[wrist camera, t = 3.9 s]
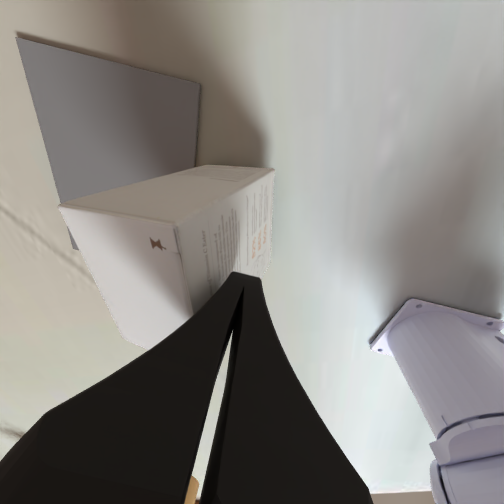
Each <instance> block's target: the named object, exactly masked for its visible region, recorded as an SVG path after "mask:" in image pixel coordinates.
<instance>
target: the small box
mask: <svg viewBox="0 0 504 504" xmlns="http://www.w3.org/2000/svg"><path fill="white" fill-rule="evenodd" d="M274 176H275V169H273V168H255V167H239V166H224V165H203V166H199V167H195V168H191V169H187V170H184V171H180V172H176V173H172V174H169V175H165V176H161V177H157V178H153V179H149V180H146V181H142V182H138V183H134V184H131V185H127V186H123V187H119V188H115V189H111V190H107V191H103V192H99V193H96V194H92V195H88V196H84V197H81V198H77V199H73V200H70V201H67V202H64V203H61V204H59V205H58V209H59V211H60V212H61V214H62V216H63V218H64V220H65V222H66V224H67V226H68V228H69V230H70V232H71V234H72V236H73V238H74V240H75V242H76V244H77V247H78V249H79V251H80V253H81V254H82V257H83V259H84V261H85V263H86V265H87V267H88V269H89V271H90V273H91V275H92V277H93V279H94V281H95V283H96V285H97V287H98V289H99V291H100V293H101V295H102V297H103V299H104V301H105V303H106V305H107V307H108V309H109V311H110V313H111V316H112V317H113V319H114V321H115V323H116V326H117V328H118V330H119V332H120V334H121V336H122V338H123V339H125V340H127V341H129V342H131V343H133V344H135V345H137V346H140V347H142V348H144V349H146V350H150V349H151V348H152V347H154V346H155V345H157V344H158V343H159V342H161V341H162V340H163V339H165V338H166V337H167V336H169V335H170V334H171V333H173V332H174V331H175V330H176V329H178V328H179V327H180V326H181V325H182V324H184V323H185V322H186V321H187V320H188V319H189V318H191V317H192V316H193V315H194V314H195V313H196V312H197V311H198V310H199V309H200V308H201V307H202V306H203V305H204V304H205V303H206V302H207V301H208V300H209V299H210V298H211V297H212V296H213V295H214V294H215V293H216V292H217V290H218V289H219V288H220V287H221V286H222V285H223V283H224V282H225V281H226V279H227V278H228V276H229V275H230V273H231V272H233V271H235V272H239V273H243V274H247V275H251V276H255V277H259V278H260V279H262V277H263V276H264V274H265V272H266V270H267V269H268V267H269V265H270V263H271V239H272V218H273V195H274Z"/></svg>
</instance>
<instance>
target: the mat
mask: <svg viewBox="0 0 504 504" xmlns="http://www.w3.org/2000/svg"><path fill="white" fill-rule="evenodd" d="M15 38H16V41H17V45H18V49H19V52H20V56H21V60H22V63H23V67H24V70H25V74H26V78H27V81H28V85H29V89H30V92H31V96H32V100H33V103H34V107H35V111H36V114H37V118H38V122H39V125H40V129H41V133H42V136H43V140H44V144H45V147H46V151H47V155H48V158H49V162H50V166H51V169H52V173H53V177H54V180H55V184H56V187H57V191H58V195H59V198H60V202H61V203H64V202H67V201H70V200H73V199H77V198H81V197H84V196H88V195H92V194H96V193H99V192H103V191H107V190H111V189H115V188H119V187H123V186H127V185H131V184H134V183H138V182H142V181H146V180H149V179H153V178H157V177H161V176H165V175H169V174H172V173H176V172H180V171H184V170H187V169H191V168H195V162H196V147H197V132H198V117H199V102H200V87H201V84H199V83H195V82H191V81H187V80H183V79H179V78H175V77H171V76H167V75H163V74H160V73H156V72H152V71H148V70H144V69H140V68H136V67H132V66H128V65H124V64H120V63H116V62H112V61H108V60H104V59H100V58H96V57H92V56H88V55H85V54H81V53H77V52H73V51H69V50H65V49H61V48H57V47H53V46H49V45H45V44H41V43H37V42H33V41H29V40H25V39H21V38H17V37H15ZM67 228H68V226H67ZM68 231H69V235H70V239H71V242H72V246H73V249H76V250H79V249H78V247H77V244H76V242H75V240H74V238H73V236H72V234H71V232H70V230H69V228H68Z"/></svg>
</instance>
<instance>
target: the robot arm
mask: <svg viewBox="0 0 504 504" xmlns="http://www.w3.org/2000/svg"><path fill="white" fill-rule="evenodd" d="M418 304H419V305H418ZM503 328H504V321H502V320H499V319H495V318H491V317H487V316H483V315H479V314H475V313H471V312H467V311H463V310H459V309H455V308H450V307H446V306H442V305H438V304H434V303H430V302H426V301H422V300H418V299H409V300H408V301H407V302H406V303H405V304H404V305H403V306H402V308H401V309H400V310H399V311H398V312H397V314H396V315H395V316H394V317H393V318H392V320H391V321H390V322H389V323H388V325H387V326H386V327H385V328H384V329H383V331H382V332H381V333H380V334H379V335H378V337H377V338H376V339H375V340H374V341H373V343H372V344H371V345H370V349H371V350H372V351H374V352H378V353H382V354H386V355H390V356H394V357H395V359H396V361H397V363H398V365H399V367H400V369H401V371H402V373H403V375H404V377H405V379H406V381H407V383H408V385H409V387H410V389H411V391H412V393H413V395H414V397H415V399H416V401H417V403H418V404H419V406H420V408H421V410H422V412H423V414H424V416H425V418H426V420H427V422H428V424H429V426H430V428H431V430H432V432H433V434H434V436H435V438H436V441H434V442H431V443H429V445H430V447H431V449H432V451H433V453H434V456H435V458H436V460H433V461H432V463H431V465H430V483H431V489H432V494H433V498H434V501H435V504H504V335H503V334H502V333H501V332H500V331H501V330H502V329H503ZM232 331H233V334H232V341H231V348H230V355H229V363H228V370H227V377H226V383H225V389H224V394H223V398H222V403H221V407H220V412H219V416H218V421H217V425H216V430H215V434H214V439H213V444H212V448H211V453H210V457H209V461H208V466H207V470H206V475H205V479H204V484H203V488H202V493H201V497H200V502H199V504H373V501H372V498H371V495H370V492H369V489H368V487H367V486H366V484H365V483H364V481H363V480H362V479H361V477H360V476H359V474H358V473H357V472H356V470H355V469H354V467H353V466H352V464H351V463H350V462H349V460H348V459H347V457H346V456H345V454H344V453H343V451H342V450H341V448H340V447H339V445H338V444H337V442H336V441H335V439H334V438H333V436H332V435H331V433H330V432H329V430H328V429H327V427H326V425H325V424H324V422H323V421H322V419H321V418H320V416H319V414H318V413H317V411H316V409H315V408H314V406H313V404H312V403H311V401H310V399H309V397H308V396H307V394H306V392H305V390H304V389H303V387H302V385H301V384H300V382H299V380H298V378H297V376H296V374H295V373H294V371H293V369H292V367H291V365H290V363H289V361H288V359H287V357H286V354H285V352H284V350H283V348H282V346H281V343H280V341H279V339H278V336H277V334H276V331H275V329H274V326H273V323H272V320H271V317H270V314H269V311H268V308H267V305H266V301H265V297H264V293H263V288H262V281H261V279H260V278H259V277H255V276H251V275H247V274H243V273H239V272H235V271H233V272H231V273H230V275H229V276H228V278H227V279H226V281H225V282H224V283H223V285H222V286H221V287H220V288H219V289H218V290H217V292H216V293H215V294H214V295H213V296H212V297H211V298H210V299H209V300H208V301H207V302H206V303H205V304H204V305H203V306H202V307H201V308H200V309H199V310H198V311H197V312H196V313H195V314H194V315H193V316H192V317H191V318H189V319H188V320H187V321H186V322H185V323H184V324H182V325H181V326H180V327H179V328H178V329H176V330H175V331H174V332H173V333H171V334H170V335H169V336H167V337H166V338H165V339H163V340H162V341H161V342H159V343H158V344H157V345H155V346H154V347H152V348H151V349H150V350H148V351H147V352H145V353H144V354H142V355H141V356H139V357H138V358H136V359H135V360H133V361H132V362H130V363H129V364H127V365H125V366H124V367H122V368H121V369H119V370H118V371H116V372H115V373H113V374H112V375H110V376H108V377H107V378H105V379H103V380H102V381H100V382H98V383H96V384H95V385H93V386H91V387H90V388H88V389H86V390H84V391H83V392H81V393H79V394H77V395H76V396H74V397H72V398H70V399H69V400H67V401H65V402H63V403H62V404H60V405H58V406H56V407H55V408H53V409H51V410H49V411H48V412H46V413H45V414H44V415H43V416H42V417H41V418H40V419H39V420H38V421H37V422H36V423H35V424H34V425H33V426H32V427H31V428H30V429H29V431H28V432H27V433H25V434H24V435H23V437H22V438H21V439H20V440H19V441H18V442H17V443H16V444H15V445H14V446H13V447H12V448H11V449H10V451H9V452H8V453H7V454H6V455H5V456H4V458H3V459H2V460H1V461H0V504H184V503H185V499H186V495H187V491H188V487H189V483H190V479H191V475H192V471H193V467H194V463H195V460H196V456H197V452H198V448H199V444H200V440H201V436H202V432H203V428H204V424H205V420H206V416H207V412H208V408H209V404H210V400H211V396H212V392H213V388H214V385H215V382H216V378H217V375H218V372H219V369H220V366H221V363H222V360H223V357H224V354H225V351H226V348H227V345H228V342H229V339H230V336H231V333H232Z"/></svg>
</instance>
